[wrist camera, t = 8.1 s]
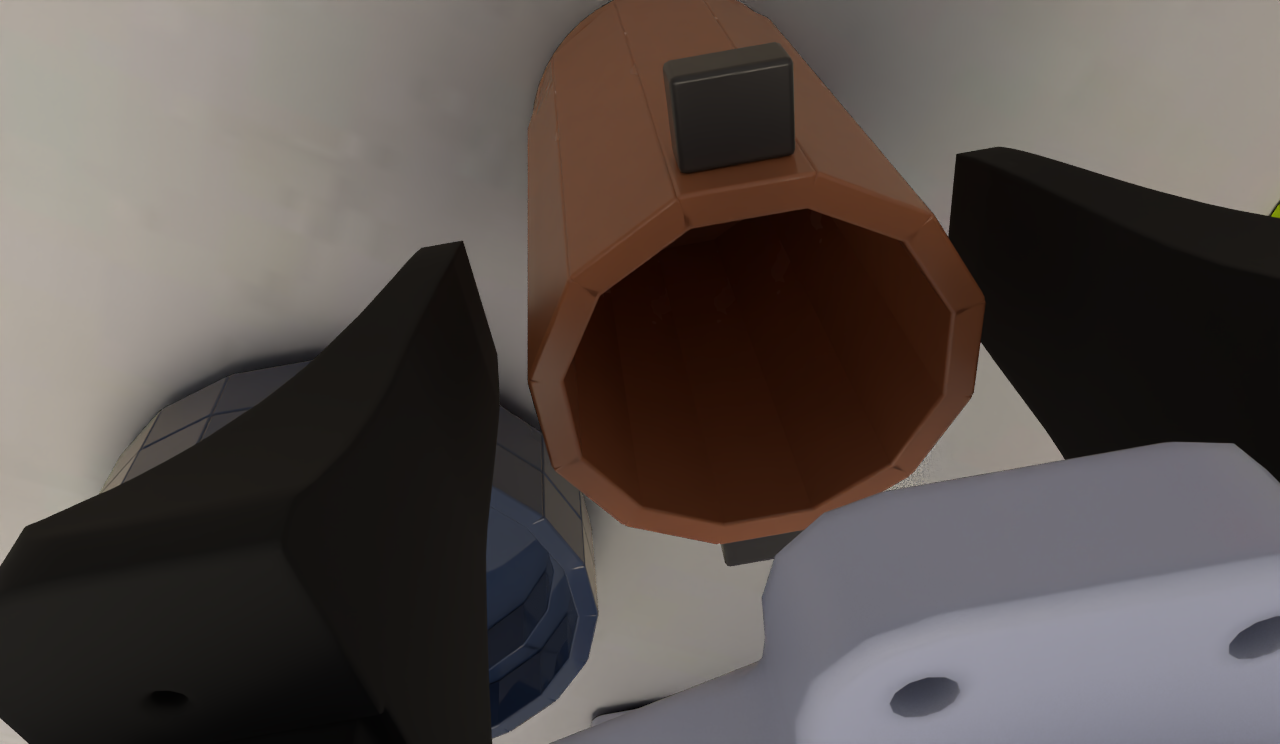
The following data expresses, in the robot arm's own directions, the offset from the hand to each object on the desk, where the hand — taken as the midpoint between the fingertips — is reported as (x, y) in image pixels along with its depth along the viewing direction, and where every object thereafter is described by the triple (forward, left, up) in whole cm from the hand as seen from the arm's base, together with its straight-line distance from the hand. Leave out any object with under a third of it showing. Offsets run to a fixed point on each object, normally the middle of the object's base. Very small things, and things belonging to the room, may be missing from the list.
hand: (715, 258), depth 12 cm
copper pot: (0, 0, -5) cm, 5 cm away
